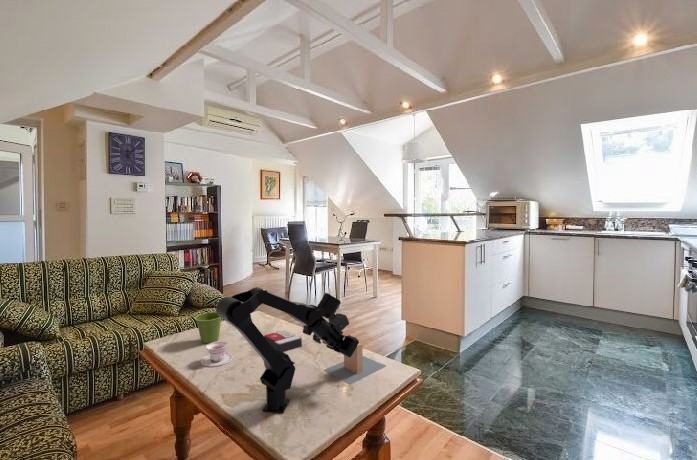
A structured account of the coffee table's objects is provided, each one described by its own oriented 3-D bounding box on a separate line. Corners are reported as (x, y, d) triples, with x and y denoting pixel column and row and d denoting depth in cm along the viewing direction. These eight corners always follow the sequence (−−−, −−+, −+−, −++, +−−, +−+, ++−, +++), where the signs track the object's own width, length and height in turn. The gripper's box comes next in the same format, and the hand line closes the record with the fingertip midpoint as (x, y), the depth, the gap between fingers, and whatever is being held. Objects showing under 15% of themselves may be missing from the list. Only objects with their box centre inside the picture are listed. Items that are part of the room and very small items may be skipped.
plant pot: (191, 340, 154) (190, 315, 153) (218, 333, 162) (217, 310, 161) (200, 348, 145) (199, 322, 144) (228, 340, 153) (227, 316, 152)
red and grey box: (285, 328, 158) (301, 336, 146) (285, 338, 158) (302, 346, 146) (262, 334, 151) (278, 343, 139) (263, 344, 151) (278, 353, 139)
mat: (350, 385, 114) (350, 384, 114) (323, 370, 124) (323, 369, 124) (386, 367, 126) (386, 366, 126) (359, 355, 137) (359, 354, 137)
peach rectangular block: (357, 373, 121) (357, 346, 120) (344, 366, 126) (343, 340, 125) (362, 370, 123) (362, 343, 122) (349, 364, 128) (349, 338, 127)
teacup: (220, 369, 126) (219, 353, 126) (193, 365, 130) (192, 349, 130) (239, 355, 138) (239, 340, 137) (214, 352, 142) (214, 337, 141)
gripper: (354, 314, 110) (377, 338, 119) (318, 303, 124) (341, 325, 132) (336, 345, 106) (362, 368, 114) (301, 330, 119) (326, 351, 128)
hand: (347, 351), depth 122 cm, fingers closed
